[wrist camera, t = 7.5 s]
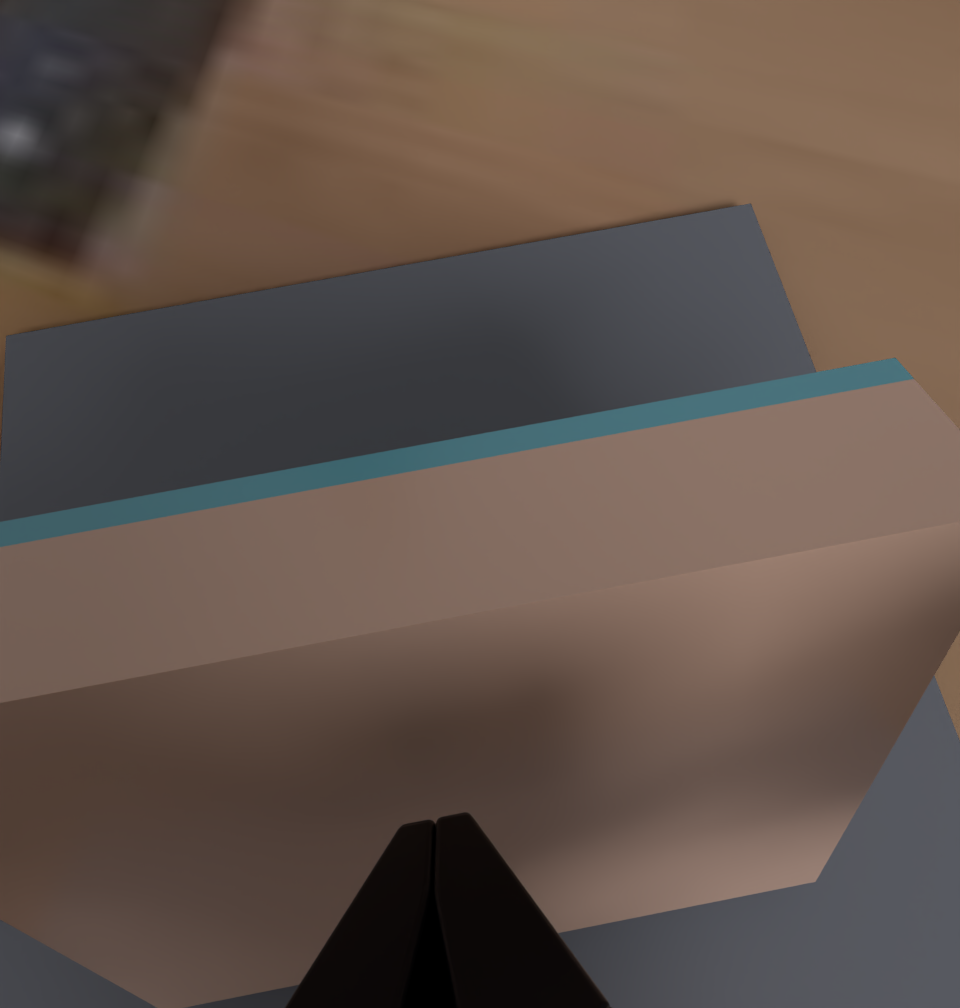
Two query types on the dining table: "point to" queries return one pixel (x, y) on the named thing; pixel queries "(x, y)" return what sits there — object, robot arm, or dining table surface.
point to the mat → (476, 410)
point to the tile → (471, 672)
